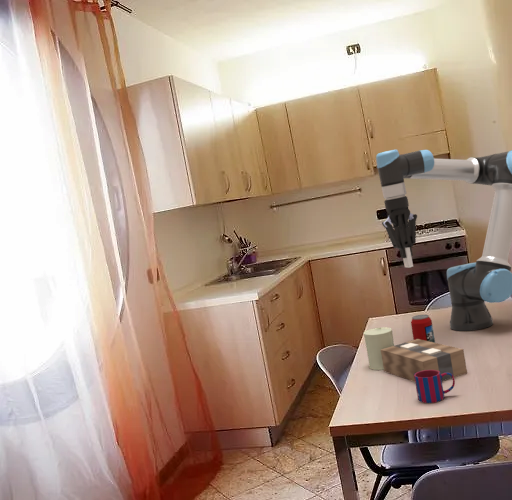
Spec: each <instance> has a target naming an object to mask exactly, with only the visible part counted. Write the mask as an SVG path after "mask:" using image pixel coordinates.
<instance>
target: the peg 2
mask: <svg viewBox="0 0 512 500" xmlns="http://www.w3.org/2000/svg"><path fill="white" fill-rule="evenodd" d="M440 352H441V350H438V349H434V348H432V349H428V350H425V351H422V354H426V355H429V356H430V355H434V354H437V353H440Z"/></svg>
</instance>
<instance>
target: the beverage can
mask: <svg viewBox="0 0 512 500" xmlns="http://www.w3.org/2000/svg"><path fill="white" fill-rule="evenodd" d="M410 325H411V326H410V327H411V331H412V332H411V333H412V338H413V340H416V339H421V340H425V341H429V342H434V343H436V340H435V334H434V328H433V327H434V326H433V322H432V318H431V317H430V315H428V314H417V315H414V316H412V317H411V321H410Z"/></svg>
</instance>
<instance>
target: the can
mask: <svg viewBox="0 0 512 500" xmlns="http://www.w3.org/2000/svg"><path fill="white" fill-rule="evenodd" d="M363 336H364V337H363V338H364V341H365V347H366V348H365V349H366V353H367V359H368V360H367V361H368V367H369V369H370V370H374V371H384V367H383V361H382V355H381V349H385V348H388V347H391V346H395V343H394V336H393V329H392V328H391V327H386V326H385V327H375V328H370V329H367V330H365V331H364V332H363Z"/></svg>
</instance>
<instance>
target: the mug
mask: <svg viewBox="0 0 512 500" xmlns="http://www.w3.org/2000/svg"><path fill="white" fill-rule="evenodd" d="M444 375H450V376H451V377H452V378H451V380H452V385H451V386H450V387H449V388H447V389H446V390H445V389H444V387H443V381H442V380H441V379H442V377H443V376H444ZM414 378H415V382H414V384H415V390H416V395H417V401H419V403H422V404H423V403H424V404H434V403H439V402H441V401H442V399H443V400H444V399H445V394H447V393H449V392H451V391H452V390H453V389H454V387H455V386H456V385H455V384H456V379H455V377H454V376H453V375H452V374H451V373H443V374H440V371H437V370H423V371H419V372H417V373H415V374H414ZM438 401H439V402H438Z"/></svg>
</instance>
